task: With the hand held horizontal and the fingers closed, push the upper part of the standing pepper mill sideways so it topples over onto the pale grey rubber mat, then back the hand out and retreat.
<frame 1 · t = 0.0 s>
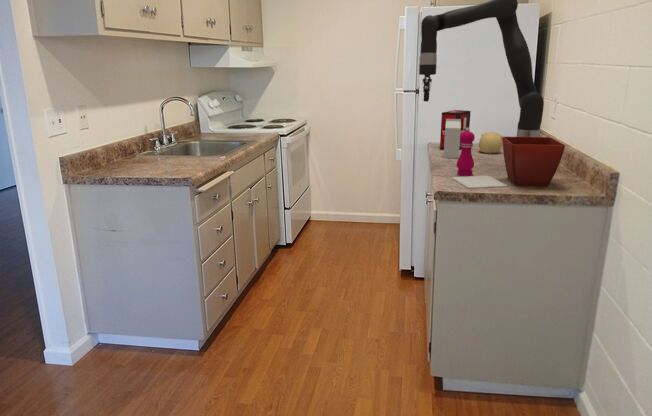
hand: (426, 100, 229), 29 cm above the worktop, tool pointing down, fingers open, 8 cm apart
milk carton: (451, 157, 253), on the worktop
tan ball: (489, 153, 264), on the worktop
pepper mill: (464, 175, 215), on the worktop
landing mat: (478, 182, 201), on the worktop
plant pot: (527, 183, 200), on the worktop
cleaning product box: (454, 148, 277), on the worktop
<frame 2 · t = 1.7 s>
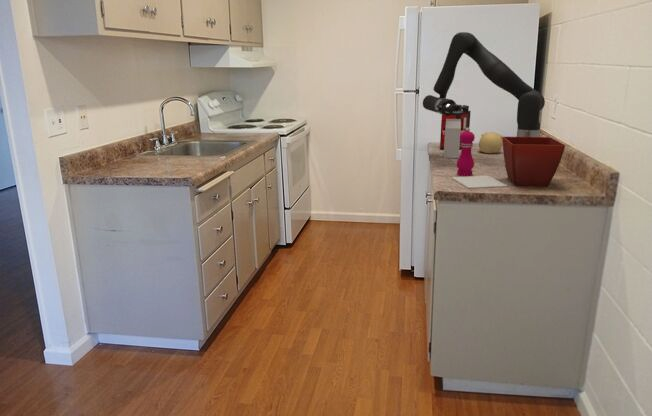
hand: (459, 110, 217), 26 cm above the worktop, tool horizontal, fingers open, 6 cm apart
nothing on the worktop moved.
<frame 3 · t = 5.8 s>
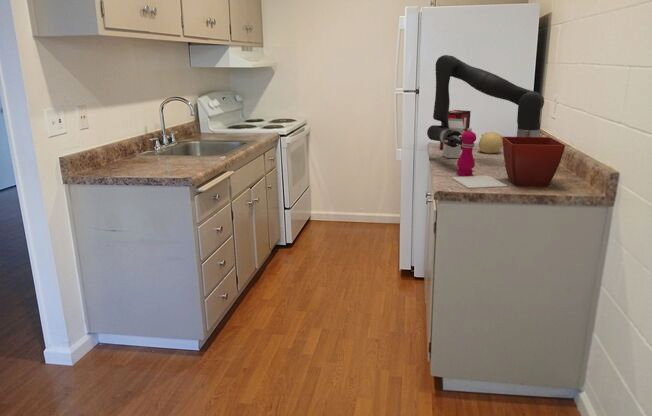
hand: (465, 143, 212), 13 cm above the worktop, tool horizontal, fingers closed
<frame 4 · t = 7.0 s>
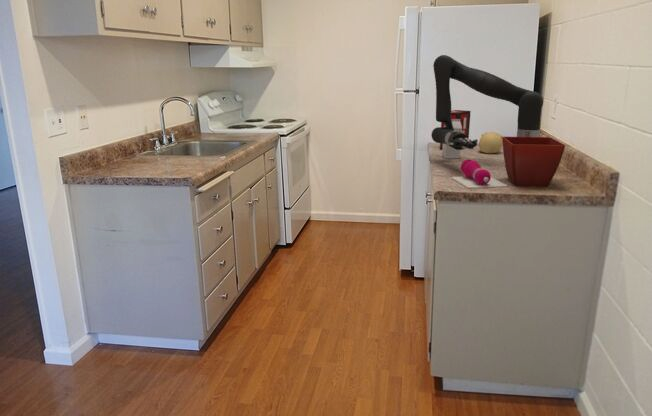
hand: (471, 146, 206), 13 cm above the worktop, tool horizontal, fingers closed
pepper mill: (467, 166, 210), point 4 cm above the worktop, touching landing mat
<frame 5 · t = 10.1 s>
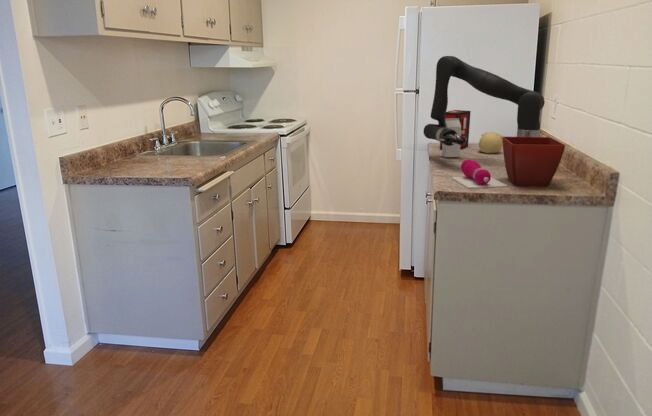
hand: (461, 142, 216), 13 cm above the worktop, tool horizontal, fingers closed
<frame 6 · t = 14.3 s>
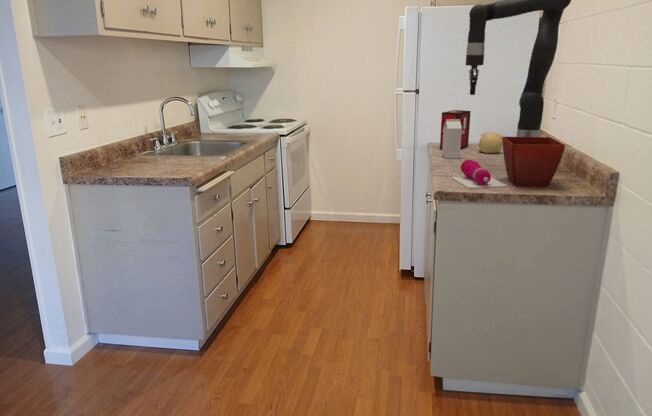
hand: (472, 94, 224), 32 cm above the worktop, tool pointing down, fingers closed
at the end: pepper mill tilted 93°; pepper mill inside the target area (8.0 cm from its centre), point 4.2 cm above the worktop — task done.
